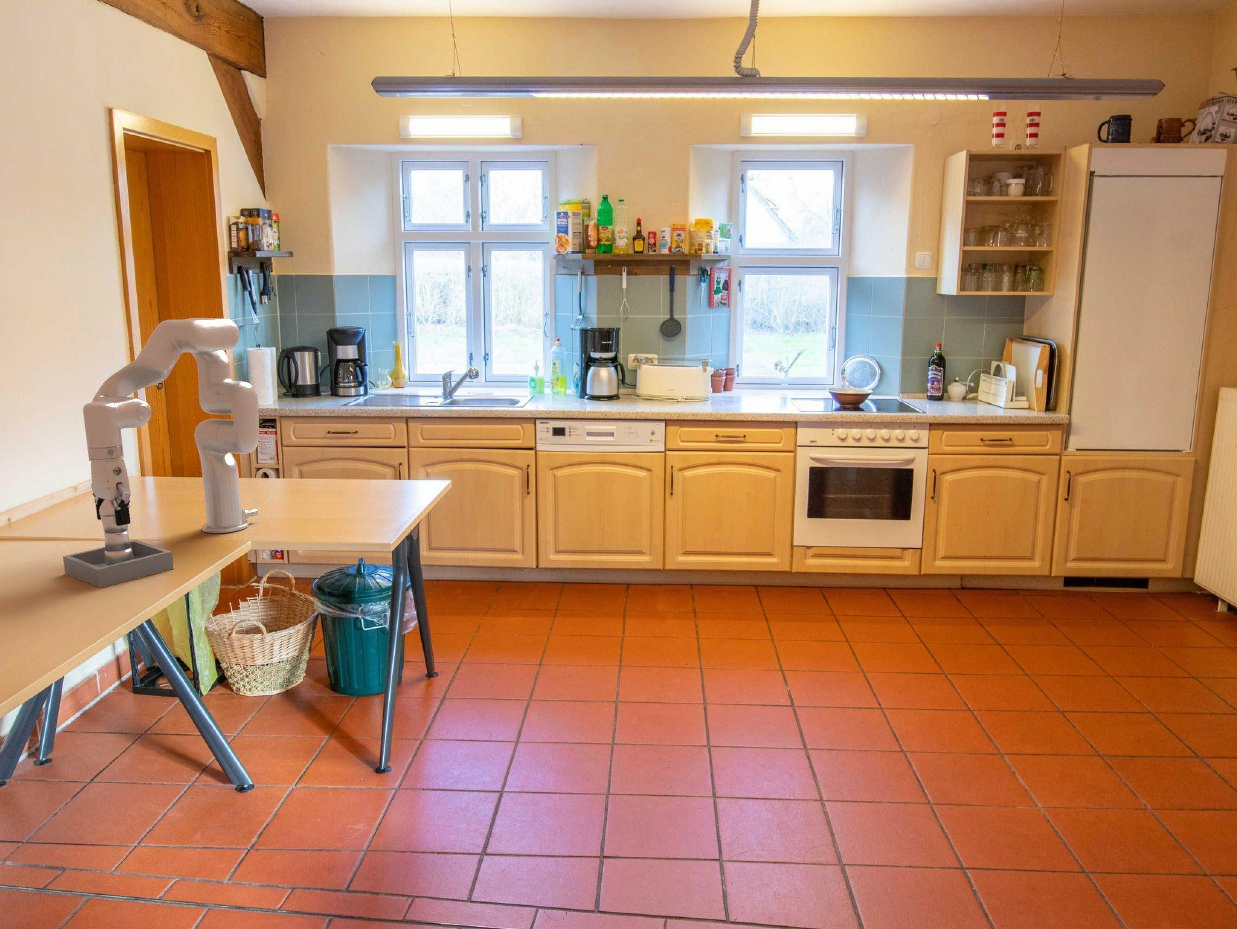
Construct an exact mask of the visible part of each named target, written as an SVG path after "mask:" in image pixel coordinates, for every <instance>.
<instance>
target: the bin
mask: <svg viewBox="0 0 1237 929" xmlns="http://www.w3.org/2000/svg"><path fill="white" fill-rule="evenodd" d="M129 541H130V546H131V549H132V552H133V560H130V561H126V562H121V563H117V564H113V565H109V566H107V565H106V563H105V560H104V553H105V546H103V547H98V548H94V549H89V550H85V551H81V552H76V553H72V554H67V555H64V556H62V561H63V567H64V574H65V575H67V576H69V577H72V578H74V577H75V578H74V579H77V580H79V581H81V580H82V582H83V583H86V582H87V583H86V584H89V583H90V584H89V585H92V586H93V585H94V587H96V588H99V589H102V588H106V587H110V586H112V585H117V584H116V583H118V584H121V582H122V583H124V582H125V583H126V582H130V581H132V580H136V579H140V578H139V577H141V578H144V576H145V577H148V575H149V576H152V575H156V574H159V573H158V572H160V573H163V572H162V571H164V572H167V570H168V571H171V570H170V569H172V570H174V569H175V568H174V560H173V551H171V550H167V549H166V548H161V547H159V546H157V545H153V544H150V543H147V542H145V541H144V542H143V541H140V540H137V539H133V540H129ZM155 573H156V574H155ZM151 574H152V575H151Z"/></svg>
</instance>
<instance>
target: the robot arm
mask: <svg viewBox="0 0 1237 929" xmlns="http://www.w3.org/2000/svg"><path fill="white" fill-rule="evenodd" d="M239 340H240V331H239V328H238V326H237V324H236V323H235V322H234V321H233V320H231V319H229V318H215V317H214V318H212V317H211V318H209V317H208V318H207V317H190V318H189V317H188V318H185V319H166V320H163V321H161V322H159V323H158V324H157V325H156V327H155V329H154V330H153V331H152V333H151V334H150V336H149V338H148V339H147V341H146V343H145V344H144V346H143V348H142V349H141V351H140V352H139V354H138V355H137V357H136V358H135V359H134V360H133V361H132V362H130V363H129V364H127V365H125V366H124V367H122V368H121V369H119V370H118V371H117V372H115V373H113V374H112V375H111V376H109V377H108V378H107V379H106V380H105V381H104V382H103V383H102V384H101V386H100V387H99V388H98V390H97V392H96V393H95V395H94V397H92V398H93V399H92V401H91V402H88V403H86V404H84V406H83V408H82V413H83V414H82V415H83V421H84V429H85V437H86V438H85V439H86V446H87V455H88V462H90V476H91V484H90V487H91V489H92V496H93V497H94V499H93V500H94V501H93V502H94V504H95V510H96V511H95V512H96V518H97V521H100V520H101V517H100V513H99V510H100V506H101V504H102V503H103V501H104V500H109V501H113V503H114V505H115V507H116V509H117V510H115V518H116V525H117V526H122V525H126V524H128V525H130V524H131V514H130V506H131V505H130V503H131V500H130V498H131V493H132V491H131V487H130V486H131V485H130V480H129V474H128V471H127V467H126V463H125V460H124V458H125V456H124V447H123V446H124V445H123V440H122V439H123V438H122V429H135V428H137V429H138V428H140V427H143V426H145V425H146V424H148V422H149V421H150V419H151V417H152V408H151V406H150V404H149V403H148V402H147V401H146V400H145V399H142V398H140V397H132V396H130V395H132V394H133V393H135V392H137V391H139V390H141V389H144V388H148V387H152V386H154V385H156V384H159V383H161V382H163V381H165V380H166V379H167V378H168V377H169V376H170V374H171V373H172V371H173V369H174V368H175V366H176V364H177V363H178V360H179V359H180V357H181V356H182V354H183V353H190V354H191V355H192V357H193V358H194V359H195V362H196V365H197V377H198V378H197V379H198V400H199V405H200V408H201V410H202V411H203V412H205V413H208V414H212V415H231V416H232V419H231V418H227V419H226V418H208V419H205V420H203V421H201V422H199V423H198V424H197V425H196V427H195V430H194V440H195V445H196V448H197V450H198V454H199V455H198V456H199V459H200V465H201V466H200V467H201V473H202V474H201V475H202V483H203V484H202V486H203V495H204V496H203V497H204V505H205V506H204V507H205V516H206V522H205V523H203V524H202V525H201V531H202V532H204V533H208V534H224V533H225V534H226V533H232V532H233V533H234V532H237V531H238V532H239V531H241V530H245V529H247V528H248V527H249V526H250V523H249V520H248V519H249V518H250V517H255V516H258V515H259V512H258V511H259V510H257V509H256V508H253V509H242V498H241V490H240V489H241V488H240V477H239V467H238V463H237V460H236V459H235V457H234V455H233V454H237V455H240V454H241V455H247V454H251V453H252V452H254V451H255V450H256V449H257V446H258V444H259V439H260V419H259V418H260V417H259V416H260V414H259V399H258V398H259V397H258V393H257V391H256V389H255V387H254V386H253V384H251V383H249V382H247V381H242V380H232V379H233V378H232V372H231V362H230V358H229V357H228V355H227V353H226V352H225V351H229V350H231V349H233V348H235V347H236V345H237V344H238V343H239ZM119 496H120V497H119ZM118 501H120V503H118Z"/></svg>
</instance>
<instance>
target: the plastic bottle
mask: <svg viewBox="0 0 1237 929" xmlns="http://www.w3.org/2000/svg"><path fill="white" fill-rule="evenodd" d="M119 497H120V496H119ZM118 503H120V501H118ZM115 510H117V509H116V507H115V505H114V503H113V501H109V500H104V501H103V503H102V504H101V506H100V510H99V513H100V517H101V525H102V528H103V529H102V530H103V534H104V547H105V553H104V560H105V563H106V565H107V566H109V565H113V564H117V563H121V562H126V561H130V560H133V552H132V549H131V546H130V541H131V540H130V536H129V530H128V529H129V524H126V525H122V526H117V525H116V518H115Z"/></svg>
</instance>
